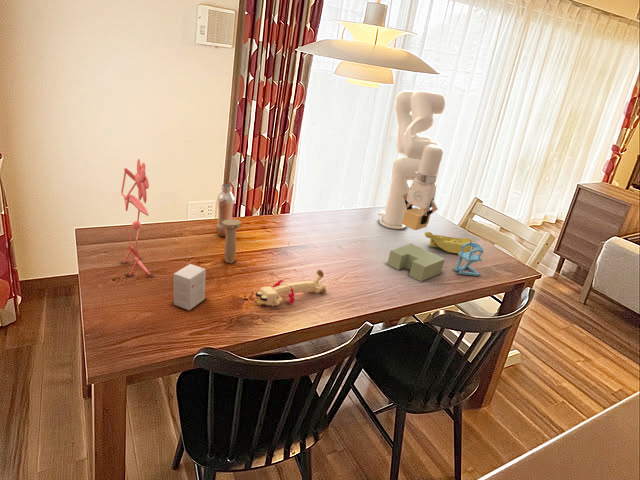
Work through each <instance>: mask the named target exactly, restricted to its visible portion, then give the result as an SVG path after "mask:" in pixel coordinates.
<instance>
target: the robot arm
mask: <svg viewBox="0 0 640 480" xmlns="http://www.w3.org/2000/svg"><path fill="white" fill-rule="evenodd" d="M445 109H446V97H445V96H444V95H443V94H441V93H439V92H431V91H426V90H420V91H416V90H402V91H400V92H399V93H398V94H397V96H396V98H395V105H394V110H395V117H396V121H397V140H396V150H397V153H398V154H399V155H401V157H400V156H399V157H397V158H395V160H394V161H393V164H392V173H391V182H390V186H389V192H388V196H387V200H386V206H385V209H384V210H383V209H379V211H378V213H377V215H378V216H380V217H381V218H380V219H379V224H380V225H381V226H383V227H385V228H388V229H392V230H403V229H406V228H407V226H405V225H403V224H402V221H403V217H404V213H405V210H409V209H412V208H414V207H413V206H415V207H416V208H419V209H420V208H422V209H424V215H423V216H422V220H421V224H426V222H427V220H428V216H429V215H430V214H431V215H432V214H433V213H436V212H437V211H438V210H439V208H438V206H437V204H436V203H435V198H436V193H437V183H436V181H437V178H438V176H439V175H438V174H439V171H440V167H441V163H442V161H443V160H442V159H443V156H444V148H442V146H441V143H439V142H437V141H434V140H433V139H432V138H431V137H430V136H427V135H422V134H421V133H423V132H427V131H429V130H430V129H431V128H432V127H433V125H434V124H435V119H434V116H441V115H442V114H443V113H444V111H445ZM420 134H421V135H420ZM409 181H412V182H411V185H410V183H409ZM431 208H432V209H431ZM431 215H430V216H431Z"/></svg>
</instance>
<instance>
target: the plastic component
mask: <svg viewBox="0 0 640 480" xmlns="http://www.w3.org/2000/svg"><path fill="white" fill-rule="evenodd" d="M424 236H425V238H428V239H430V240H429V247H432V248H440V249H441V250H444V252H448V253H450V254H456V255H457V254H458V253H460V252H461V251H462V245H464V244H466V243H472V238H471V237H466V238H465V237H464V238H463V237H461V238H459V237H453V236H452V237H451V236H444V235H438V234H433V233H432V232H430V231H425V232H424ZM471 249H472V246H470V245H468V246H466V247H464V252H463V253H465V252H470V251H471Z"/></svg>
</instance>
